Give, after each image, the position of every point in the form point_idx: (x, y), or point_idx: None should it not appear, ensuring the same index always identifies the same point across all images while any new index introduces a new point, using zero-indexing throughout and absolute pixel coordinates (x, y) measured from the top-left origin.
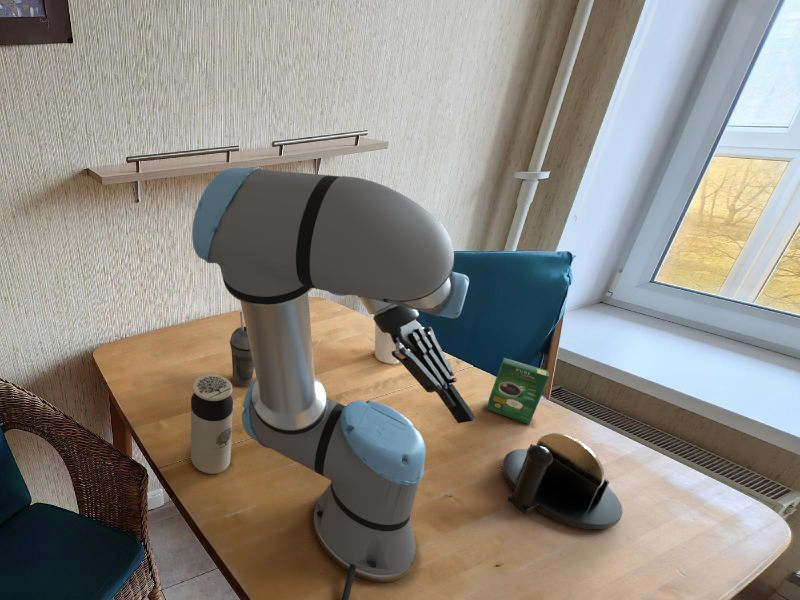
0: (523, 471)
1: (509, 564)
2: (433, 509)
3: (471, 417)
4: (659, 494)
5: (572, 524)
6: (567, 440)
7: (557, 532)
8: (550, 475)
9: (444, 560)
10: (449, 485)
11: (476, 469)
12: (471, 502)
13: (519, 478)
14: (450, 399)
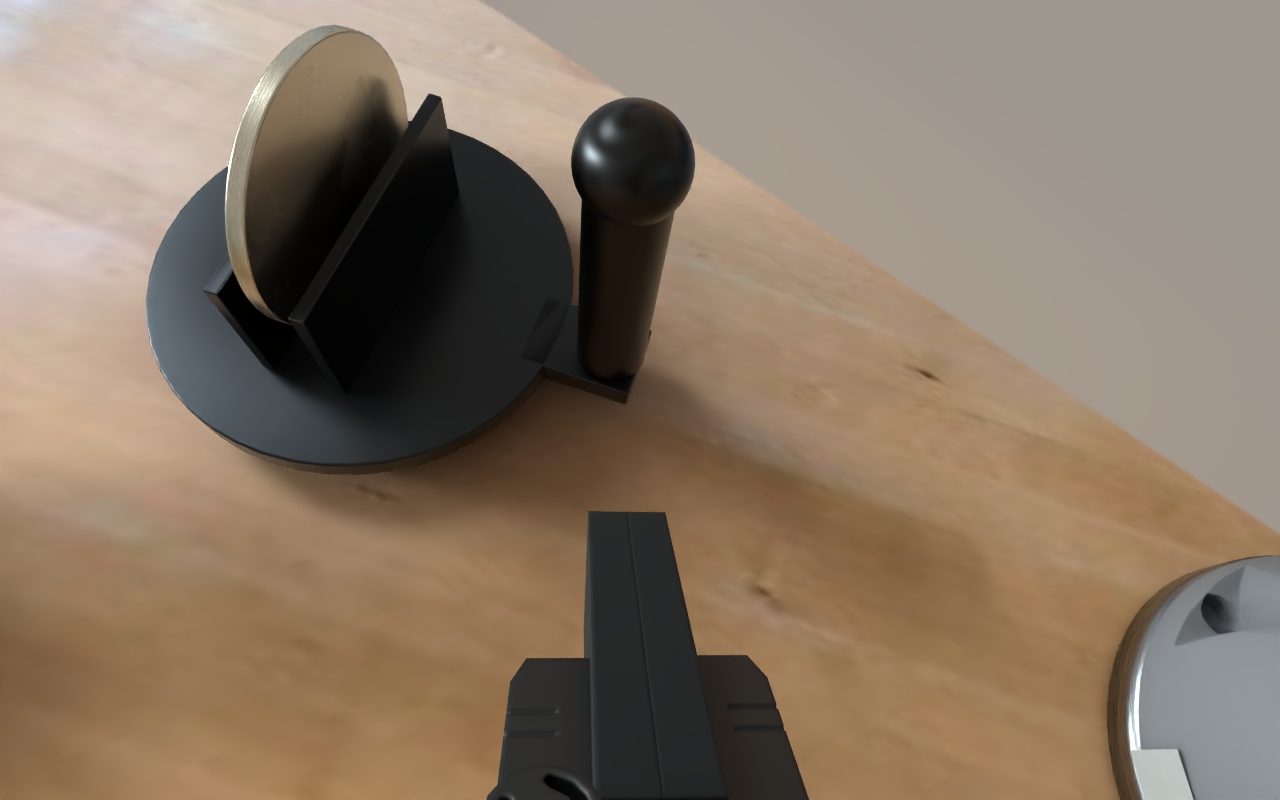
0: (647, 282)
1: (887, 349)
2: (901, 614)
3: (649, 525)
4: (116, 77)
5: None
6: (282, 114)
7: None
8: (389, 278)
9: (1077, 497)
10: (700, 617)
11: (480, 563)
12: (719, 515)
13: (625, 323)
14: (770, 718)
